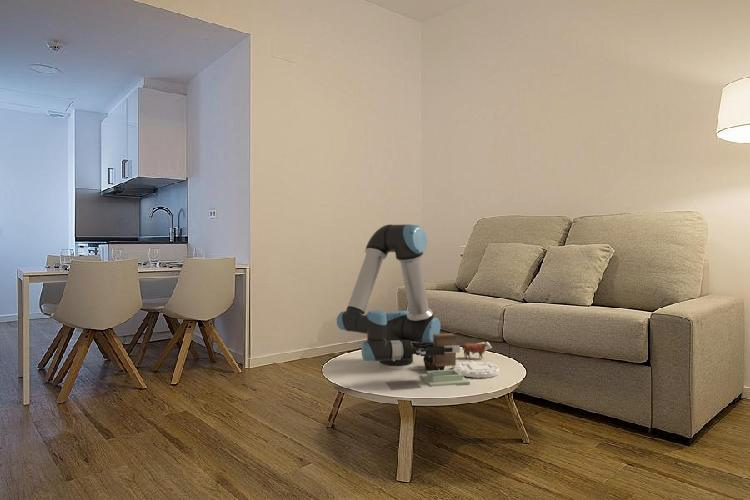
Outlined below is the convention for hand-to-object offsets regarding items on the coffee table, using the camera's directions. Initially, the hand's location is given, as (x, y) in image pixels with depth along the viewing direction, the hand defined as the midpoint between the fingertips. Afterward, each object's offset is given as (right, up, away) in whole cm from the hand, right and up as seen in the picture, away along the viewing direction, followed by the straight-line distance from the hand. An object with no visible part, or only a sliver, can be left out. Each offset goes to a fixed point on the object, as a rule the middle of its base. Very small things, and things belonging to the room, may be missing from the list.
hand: (456, 347), depth 209 cm
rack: (-5, -13, 0) cm, 14 cm away
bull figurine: (+15, -12, +34) cm, 38 cm away
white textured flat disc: (+10, -13, +12) cm, 20 cm away
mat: (-22, -14, -7) cm, 27 cm away
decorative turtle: (-7, -13, +16) cm, 22 cm away
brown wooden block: (-5, -7, -1) cm, 9 cm away
